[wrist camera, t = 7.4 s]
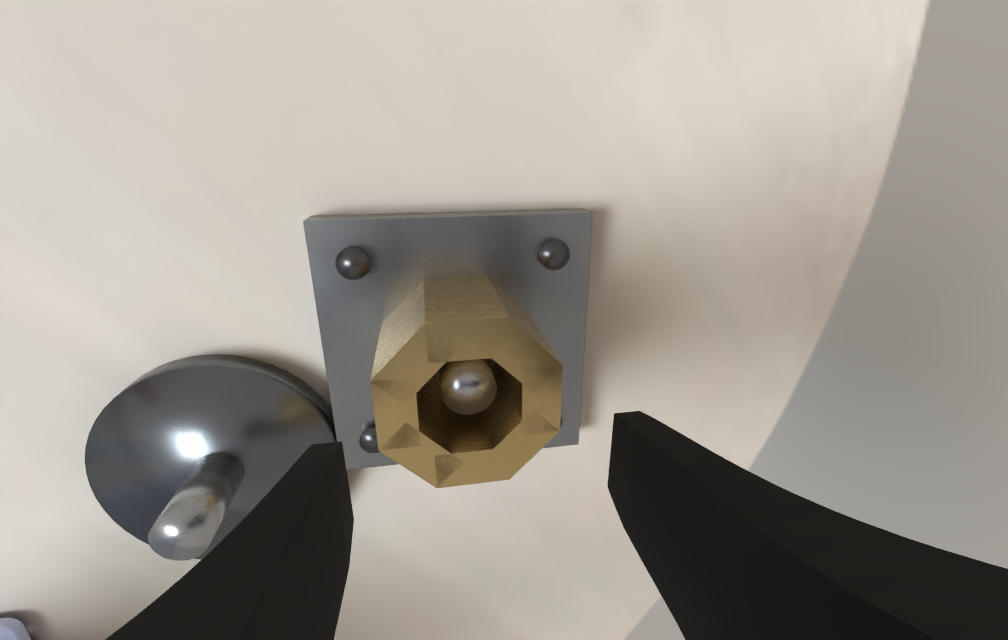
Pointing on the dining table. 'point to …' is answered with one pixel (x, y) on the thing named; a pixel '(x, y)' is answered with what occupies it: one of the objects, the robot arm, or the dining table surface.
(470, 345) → the brass collar
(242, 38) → the dining table surface
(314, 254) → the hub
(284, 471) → the stand
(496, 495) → the dining table surface
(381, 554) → the dining table surface
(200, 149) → the dining table surface
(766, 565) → the robot arm
